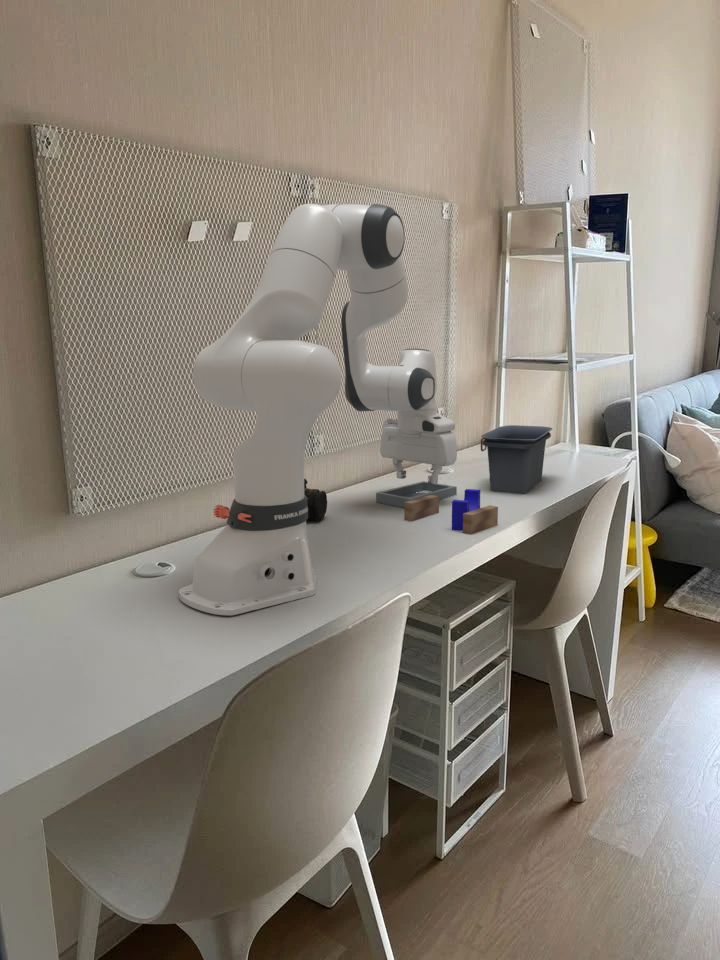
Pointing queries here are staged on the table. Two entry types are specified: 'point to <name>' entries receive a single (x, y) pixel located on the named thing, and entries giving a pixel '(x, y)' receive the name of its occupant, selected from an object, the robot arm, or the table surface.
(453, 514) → the blue curved block
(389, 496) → the slate tray
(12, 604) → the table surface
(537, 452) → the storage bin
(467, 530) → the near walnut block
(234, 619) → the table surface
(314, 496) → the film camera
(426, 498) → the far walnut block
